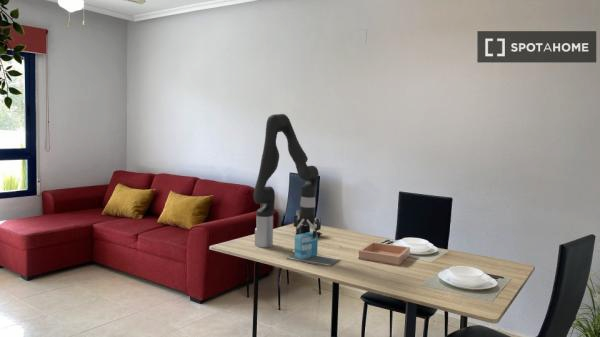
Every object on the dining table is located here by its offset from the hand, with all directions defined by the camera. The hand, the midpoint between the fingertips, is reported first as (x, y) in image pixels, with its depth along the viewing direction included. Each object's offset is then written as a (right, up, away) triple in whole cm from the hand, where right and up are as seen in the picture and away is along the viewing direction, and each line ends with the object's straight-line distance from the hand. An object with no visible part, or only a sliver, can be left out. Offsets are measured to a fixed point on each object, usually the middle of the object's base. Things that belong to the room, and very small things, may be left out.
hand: (306, 236), depth 230 cm
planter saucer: (+41, -12, +5) cm, 42 cm away
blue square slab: (0, -11, +1) cm, 11 cm away
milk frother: (+2, -7, +48) cm, 49 cm away
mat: (+3, -11, -1) cm, 12 cm away
